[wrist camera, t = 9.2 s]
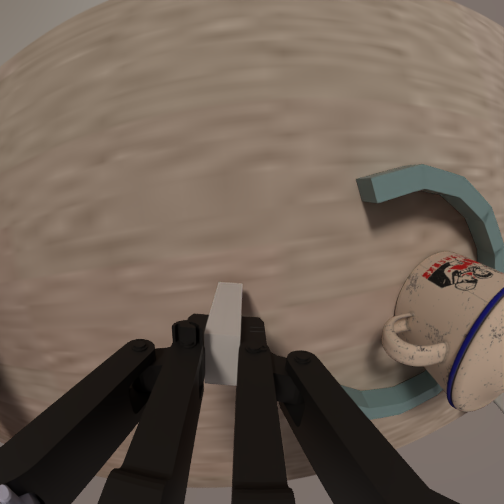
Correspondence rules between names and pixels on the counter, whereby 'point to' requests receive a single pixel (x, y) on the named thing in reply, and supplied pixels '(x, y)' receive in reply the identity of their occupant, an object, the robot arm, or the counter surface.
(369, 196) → the open curved ring
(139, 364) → the robot arm
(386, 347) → the teacup with lid
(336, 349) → the counter surface
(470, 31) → the counter surface
